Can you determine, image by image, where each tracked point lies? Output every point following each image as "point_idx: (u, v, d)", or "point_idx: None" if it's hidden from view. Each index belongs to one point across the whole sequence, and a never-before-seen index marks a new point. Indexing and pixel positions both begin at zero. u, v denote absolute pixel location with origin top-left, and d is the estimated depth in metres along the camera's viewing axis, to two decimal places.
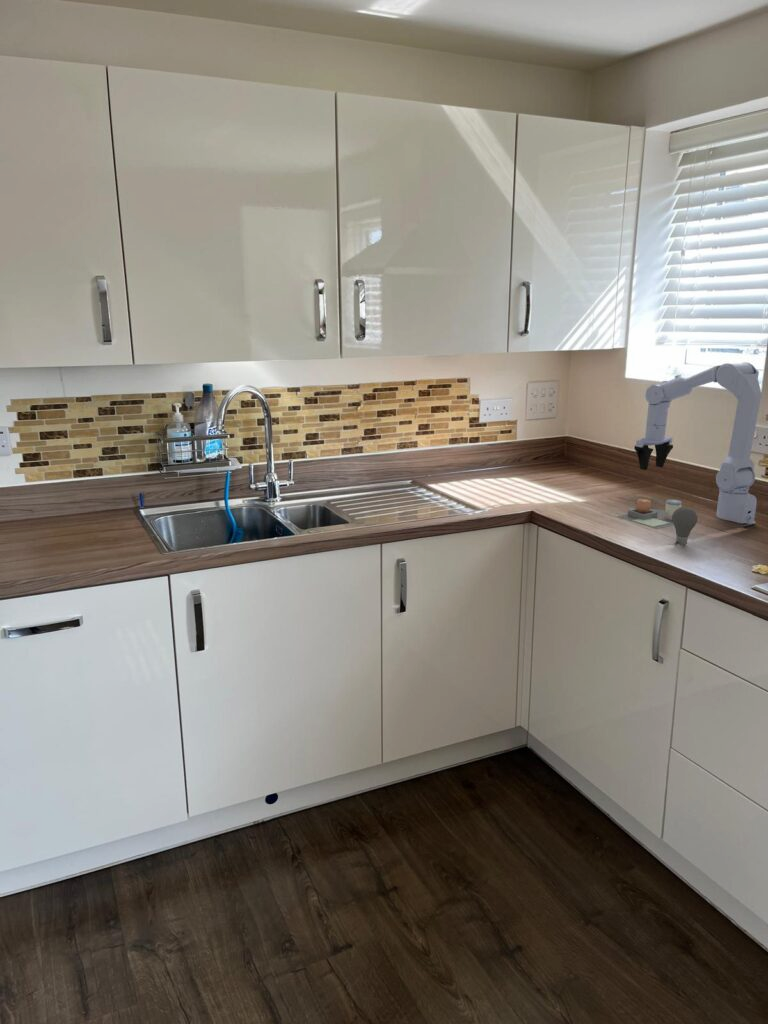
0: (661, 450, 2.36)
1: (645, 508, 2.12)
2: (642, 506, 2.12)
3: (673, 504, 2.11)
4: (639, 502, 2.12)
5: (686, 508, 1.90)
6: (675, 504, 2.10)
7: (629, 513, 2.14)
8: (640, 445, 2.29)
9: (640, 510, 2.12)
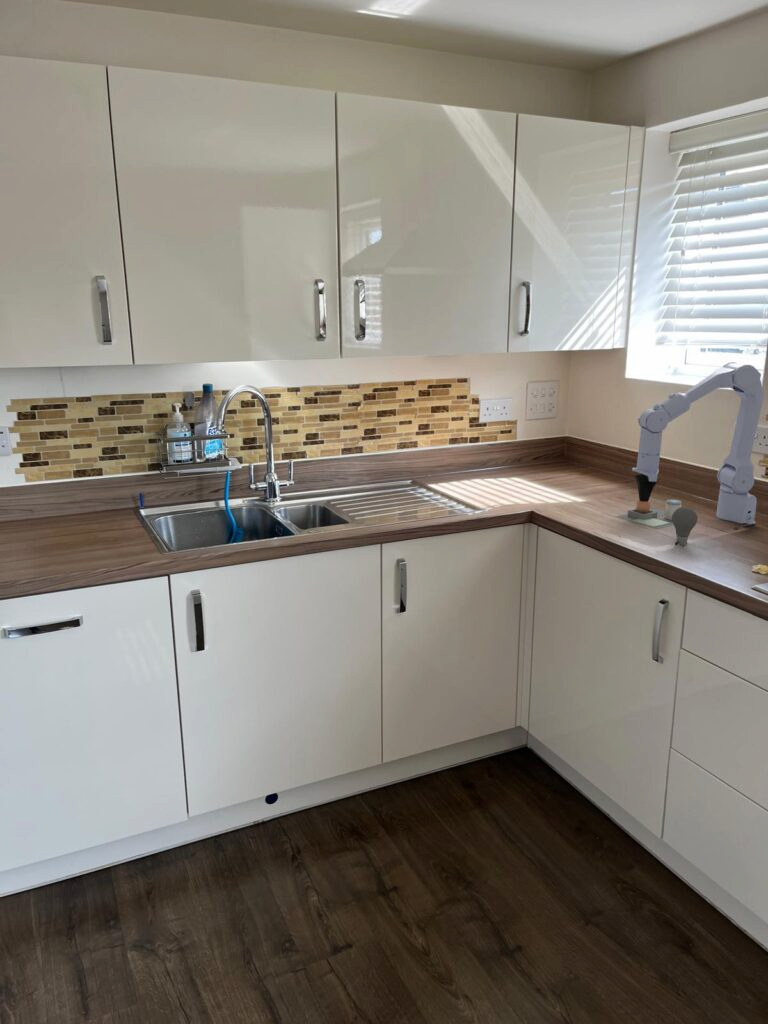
0: None
1: (645, 509, 2.12)
2: (642, 507, 2.12)
3: (673, 504, 2.11)
4: (639, 502, 2.12)
5: (686, 508, 1.90)
6: (675, 504, 2.10)
7: (629, 513, 2.14)
8: (655, 479, 2.04)
9: (640, 510, 2.12)
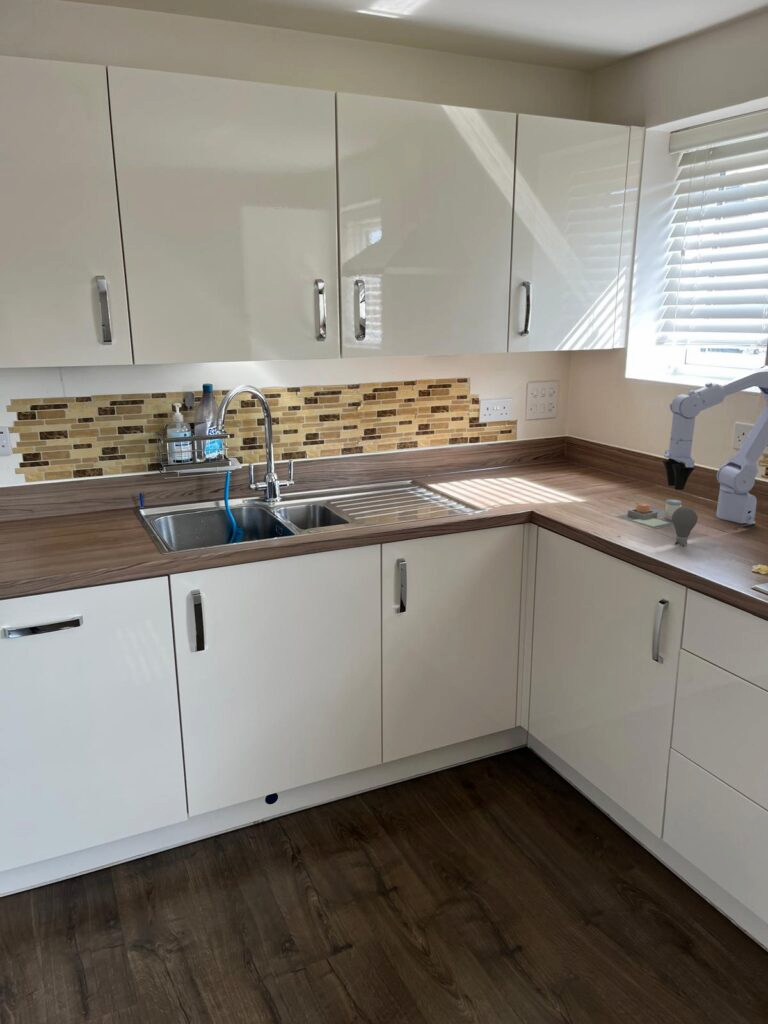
0: None
1: (644, 513, 2.12)
2: (641, 511, 2.12)
3: (673, 504, 2.11)
4: (639, 506, 2.12)
5: (686, 508, 1.90)
6: (675, 504, 2.10)
7: (629, 513, 2.14)
8: (692, 465, 2.02)
9: None
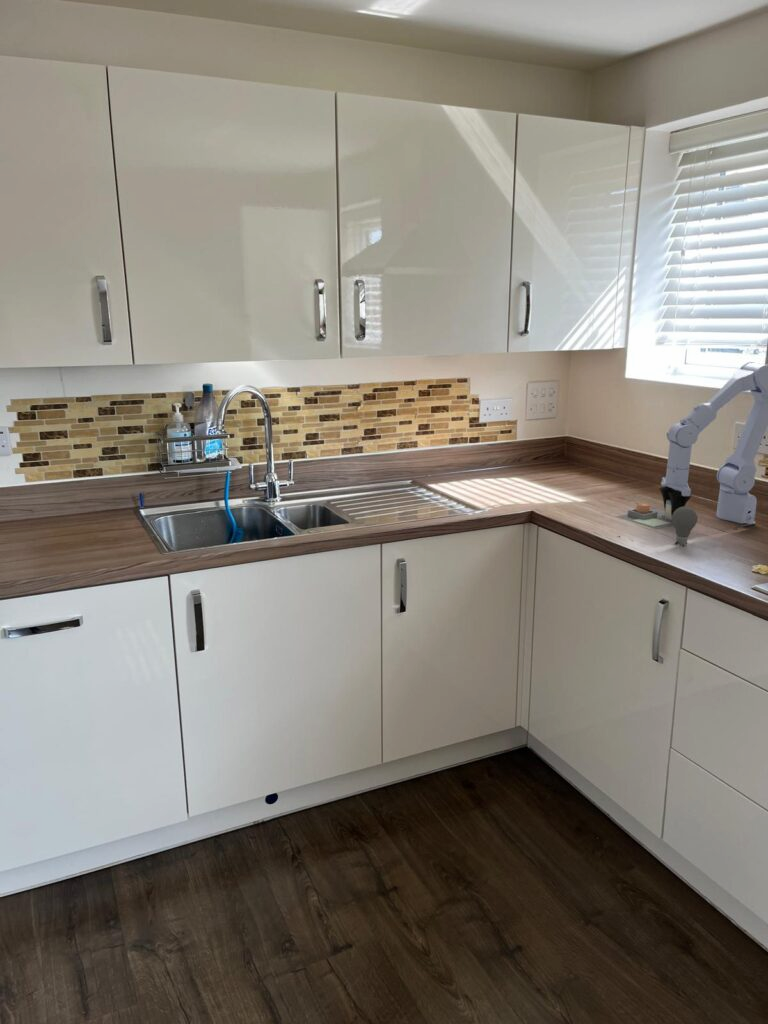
0: None
1: (644, 513, 2.12)
2: (641, 511, 2.12)
3: None
4: (639, 506, 2.12)
5: (686, 508, 1.90)
6: None
7: (629, 513, 2.14)
8: (689, 494, 2.04)
9: None
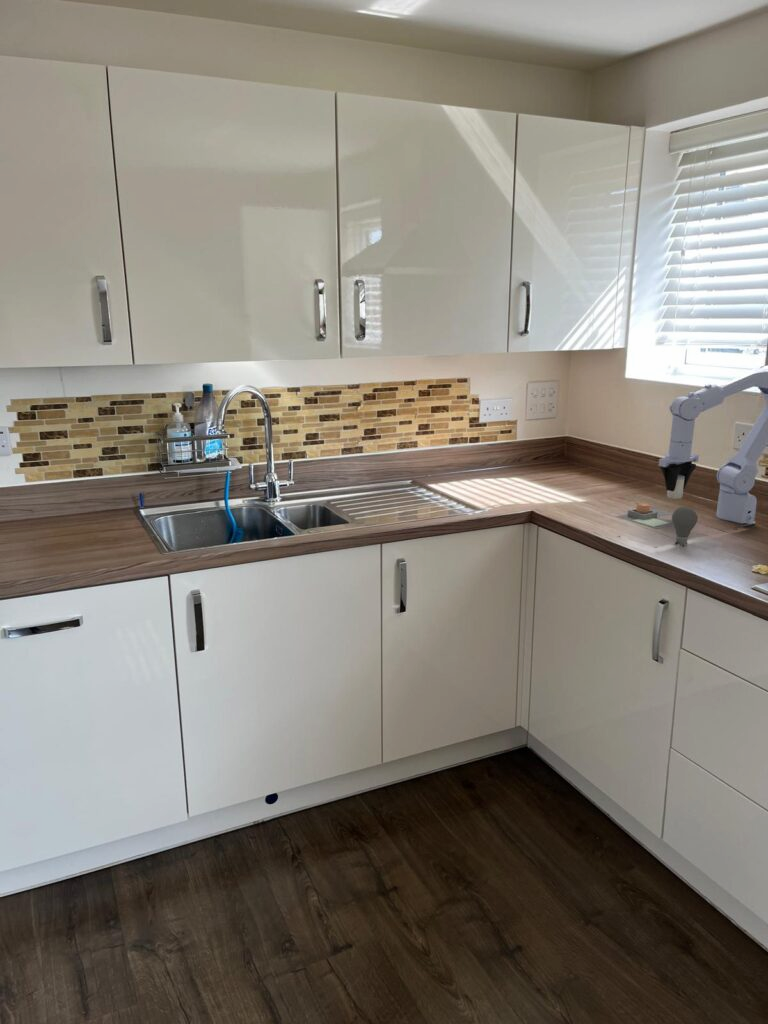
0: (683, 470, 2.11)
1: (644, 513, 2.12)
2: (641, 511, 2.12)
3: None
4: (639, 506, 2.12)
5: (686, 508, 1.90)
6: None
7: (629, 513, 2.14)
8: (663, 464, 2.05)
9: None
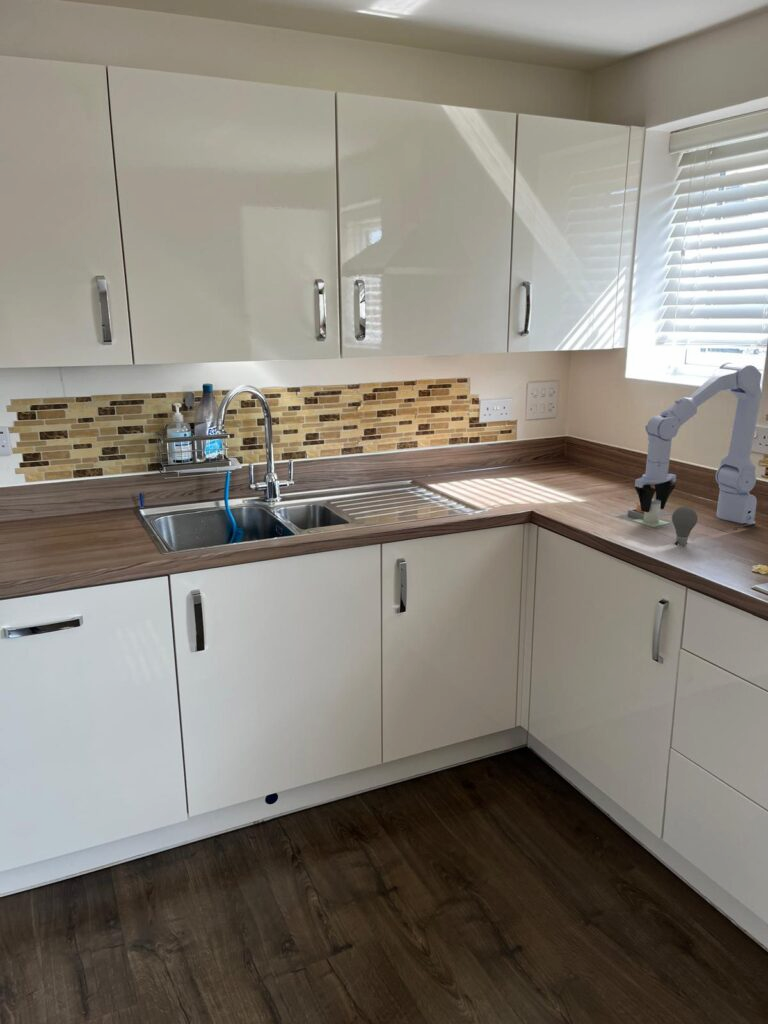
0: (662, 490, 2.08)
1: None
2: (641, 511, 2.12)
3: None
4: (639, 506, 2.12)
5: (686, 508, 1.90)
6: None
7: (629, 513, 2.14)
8: (639, 485, 2.01)
9: None
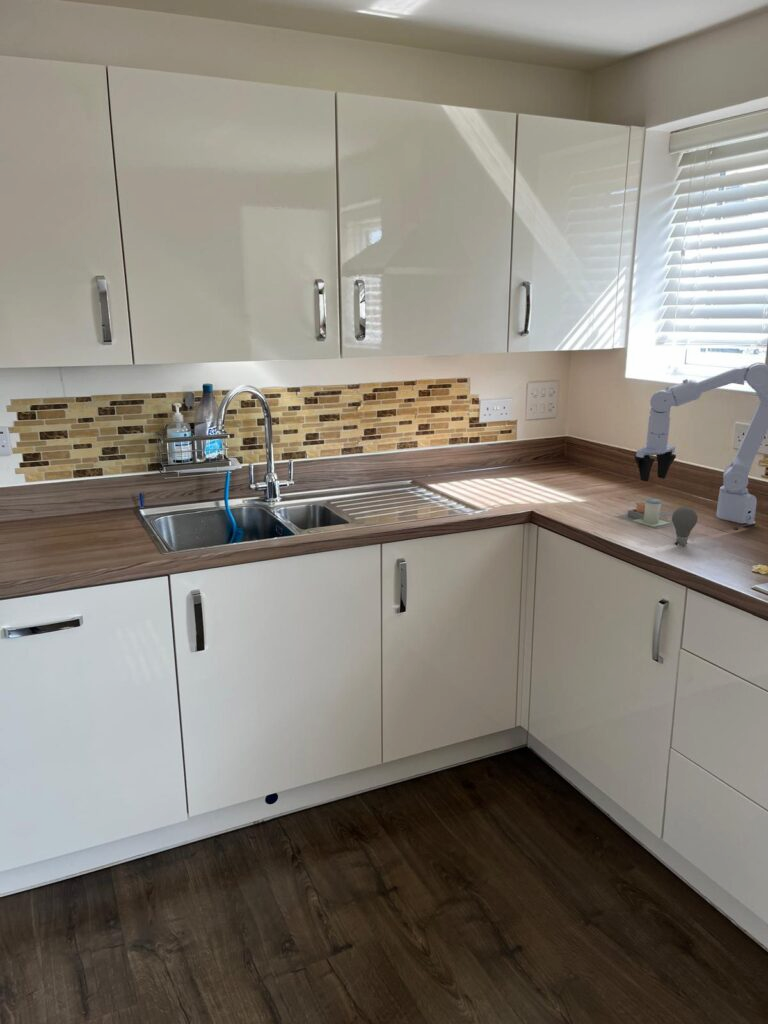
0: (663, 460, 2.21)
1: None
2: (641, 511, 2.12)
3: (646, 501, 2.07)
4: (639, 506, 2.12)
5: (686, 508, 1.90)
6: (647, 502, 2.07)
7: (629, 513, 2.14)
8: (641, 455, 2.14)
9: None
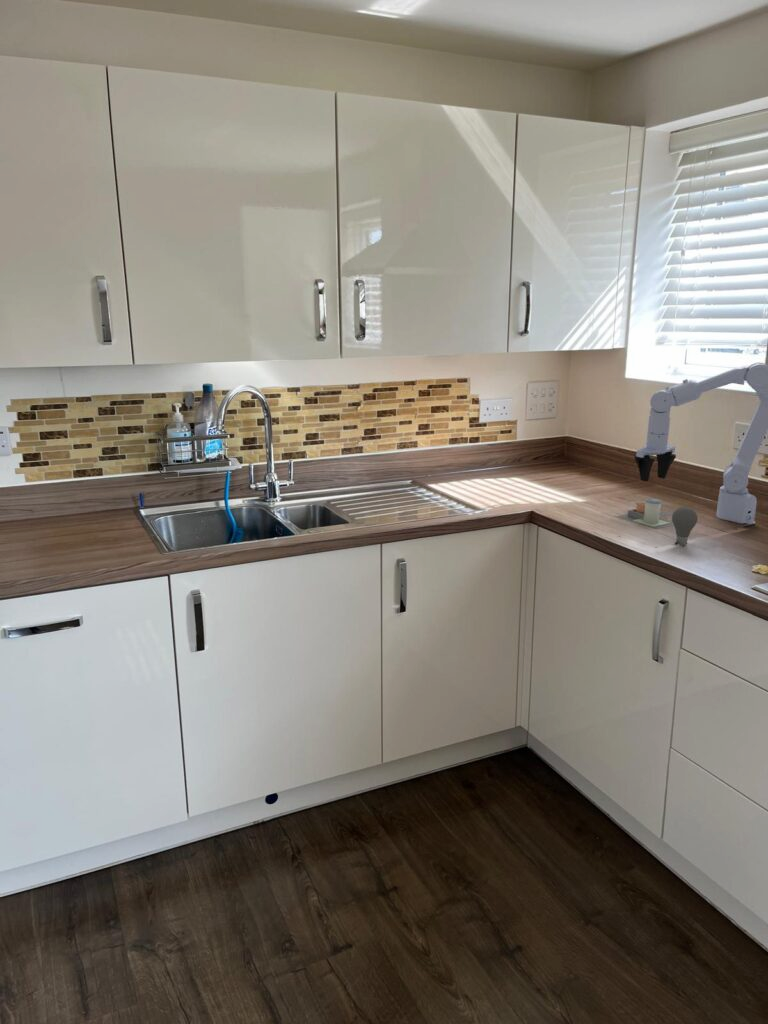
0: (663, 460, 2.21)
1: None
2: (641, 511, 2.12)
3: (646, 501, 2.07)
4: (639, 506, 2.12)
5: (686, 508, 1.90)
6: (648, 502, 2.06)
7: (629, 513, 2.14)
8: (641, 455, 2.14)
9: None
